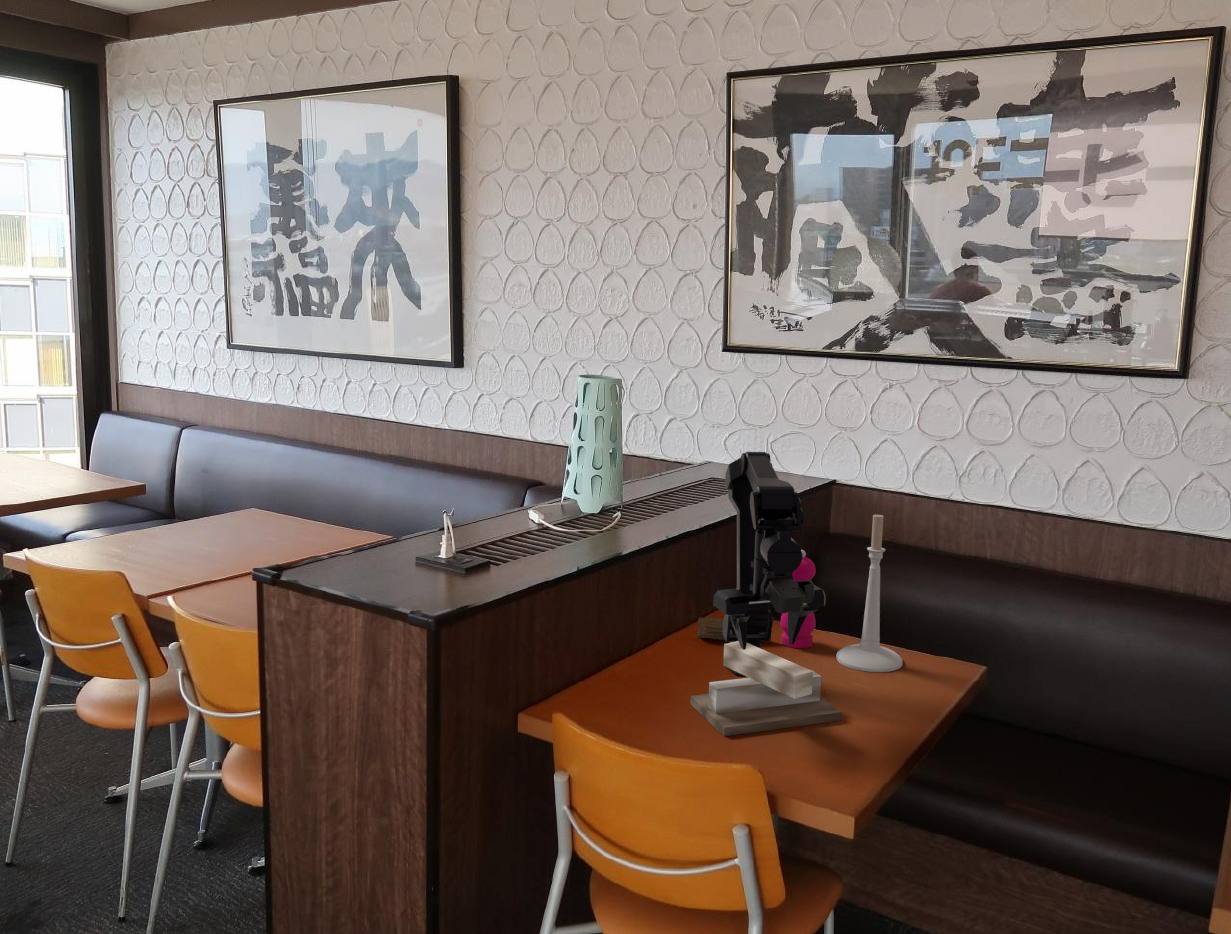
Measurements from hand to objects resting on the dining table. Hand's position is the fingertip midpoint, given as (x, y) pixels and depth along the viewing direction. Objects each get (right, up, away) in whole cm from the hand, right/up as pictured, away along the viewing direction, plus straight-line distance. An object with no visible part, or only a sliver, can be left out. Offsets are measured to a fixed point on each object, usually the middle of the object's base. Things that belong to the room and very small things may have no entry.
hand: (767, 646), depth 179 cm
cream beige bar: (0, -6, +1) cm, 6 cm away
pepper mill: (+12, -6, +37) cm, 40 cm away
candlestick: (+24, -8, +28) cm, 38 cm away
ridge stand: (0, -12, +2) cm, 12 cm away
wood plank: (-1, -6, +39) cm, 39 cm away
